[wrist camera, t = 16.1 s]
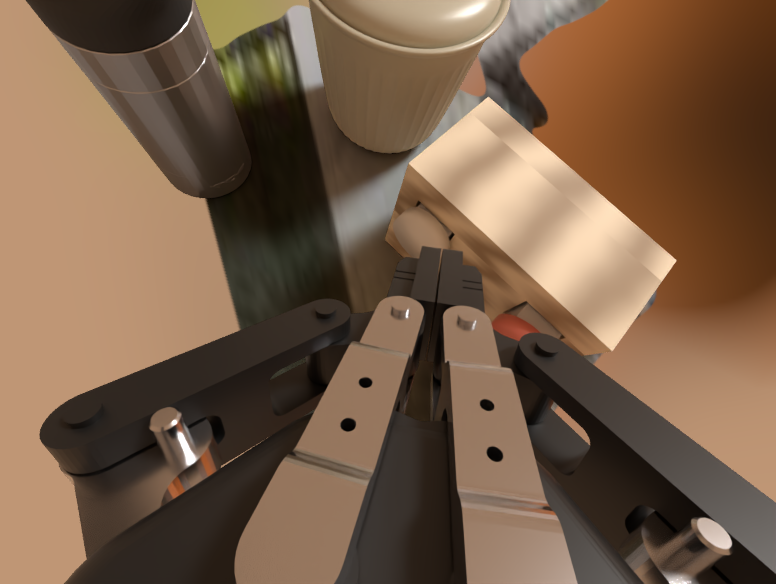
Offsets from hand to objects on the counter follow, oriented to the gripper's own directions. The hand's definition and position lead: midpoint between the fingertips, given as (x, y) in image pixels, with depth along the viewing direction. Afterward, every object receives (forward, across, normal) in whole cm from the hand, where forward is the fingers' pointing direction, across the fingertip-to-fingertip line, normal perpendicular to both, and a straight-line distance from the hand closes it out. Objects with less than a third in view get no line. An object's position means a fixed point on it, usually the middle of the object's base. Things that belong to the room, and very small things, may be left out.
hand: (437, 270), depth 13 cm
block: (+25, -5, +14) cm, 29 cm away
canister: (+37, +9, 0) cm, 38 cm away
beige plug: (+21, 0, +7) cm, 22 cm away
